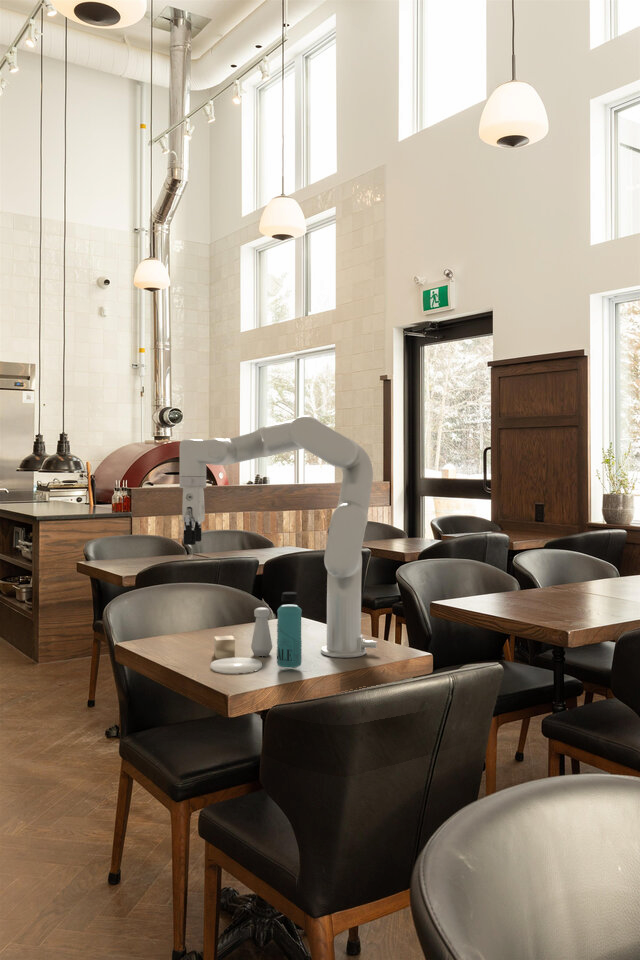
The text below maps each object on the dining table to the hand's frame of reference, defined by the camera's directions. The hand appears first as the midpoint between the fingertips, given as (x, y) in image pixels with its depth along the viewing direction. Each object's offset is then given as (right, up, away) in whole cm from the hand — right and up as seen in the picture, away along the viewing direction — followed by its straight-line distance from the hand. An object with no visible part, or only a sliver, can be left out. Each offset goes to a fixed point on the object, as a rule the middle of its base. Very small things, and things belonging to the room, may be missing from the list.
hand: (192, 542), depth 229 cm
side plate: (+15, -31, -21) cm, 40 cm away
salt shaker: (+20, -31, -7) cm, 37 cm away
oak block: (+10, -30, -8) cm, 33 cm away
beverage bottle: (+28, -31, -24) cm, 48 cm away
